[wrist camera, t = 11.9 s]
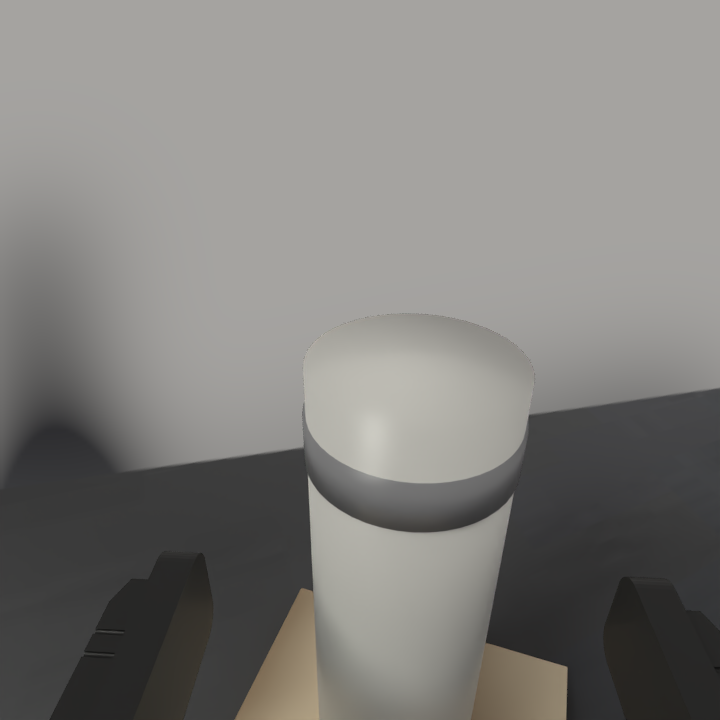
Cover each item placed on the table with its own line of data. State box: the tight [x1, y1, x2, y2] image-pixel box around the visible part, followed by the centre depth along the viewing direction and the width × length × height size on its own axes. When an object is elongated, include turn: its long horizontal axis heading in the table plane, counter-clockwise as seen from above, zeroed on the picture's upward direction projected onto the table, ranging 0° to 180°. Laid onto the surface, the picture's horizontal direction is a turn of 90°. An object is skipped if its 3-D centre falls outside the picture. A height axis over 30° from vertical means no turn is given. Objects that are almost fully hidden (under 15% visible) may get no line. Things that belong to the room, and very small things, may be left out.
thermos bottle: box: [302, 314, 535, 720], centre depth 14 cm, size 4×4×14 cm
